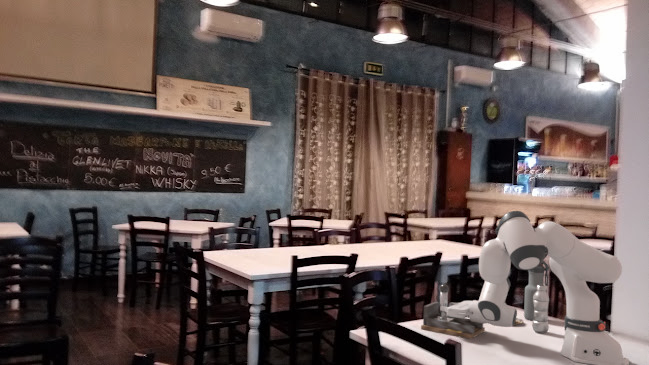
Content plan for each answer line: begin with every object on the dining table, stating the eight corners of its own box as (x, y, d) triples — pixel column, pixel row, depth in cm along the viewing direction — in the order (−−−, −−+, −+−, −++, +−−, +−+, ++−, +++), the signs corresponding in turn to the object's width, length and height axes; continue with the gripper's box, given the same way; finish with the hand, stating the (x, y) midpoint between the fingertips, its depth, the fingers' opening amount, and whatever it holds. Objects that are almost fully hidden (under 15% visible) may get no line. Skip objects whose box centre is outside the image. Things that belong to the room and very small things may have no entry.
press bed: (484, 330, 232) (485, 308, 232) (470, 338, 219) (471, 315, 219) (436, 322, 245) (437, 301, 245) (421, 329, 232) (421, 306, 232)
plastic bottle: (540, 334, 228) (542, 287, 228) (528, 330, 235) (529, 284, 235) (552, 333, 231) (553, 286, 231) (539, 329, 237) (541, 283, 237)
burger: (505, 327, 240) (506, 310, 240) (491, 320, 252) (491, 304, 252) (529, 326, 243) (529, 309, 243) (514, 320, 254) (514, 304, 254)
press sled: (454, 324, 235) (455, 284, 236) (447, 327, 229) (448, 286, 229) (439, 321, 240) (440, 282, 240) (431, 324, 233) (433, 284, 234)
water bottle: (545, 317, 260) (546, 259, 260) (548, 322, 250) (550, 261, 250) (522, 315, 262) (524, 258, 262) (525, 320, 252) (527, 260, 253)
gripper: (467, 323, 217) (435, 317, 225) (484, 315, 233) (454, 309, 242) (467, 307, 217) (435, 302, 225) (485, 300, 234) (454, 295, 242)
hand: (445, 306), depth 233 cm, fingers open, 8 cm apart
